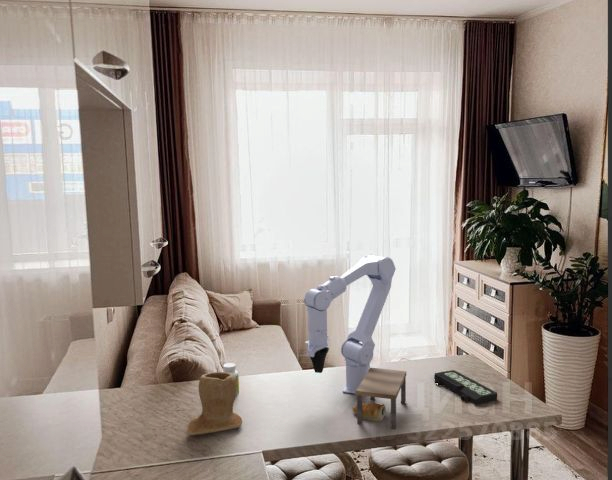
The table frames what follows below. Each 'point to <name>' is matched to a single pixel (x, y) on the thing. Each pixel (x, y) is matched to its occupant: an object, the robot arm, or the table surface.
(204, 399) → the stone cup
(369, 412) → the pastry
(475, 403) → the digital display
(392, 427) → the wooden table
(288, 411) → the table surface
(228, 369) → the supplement bottle
